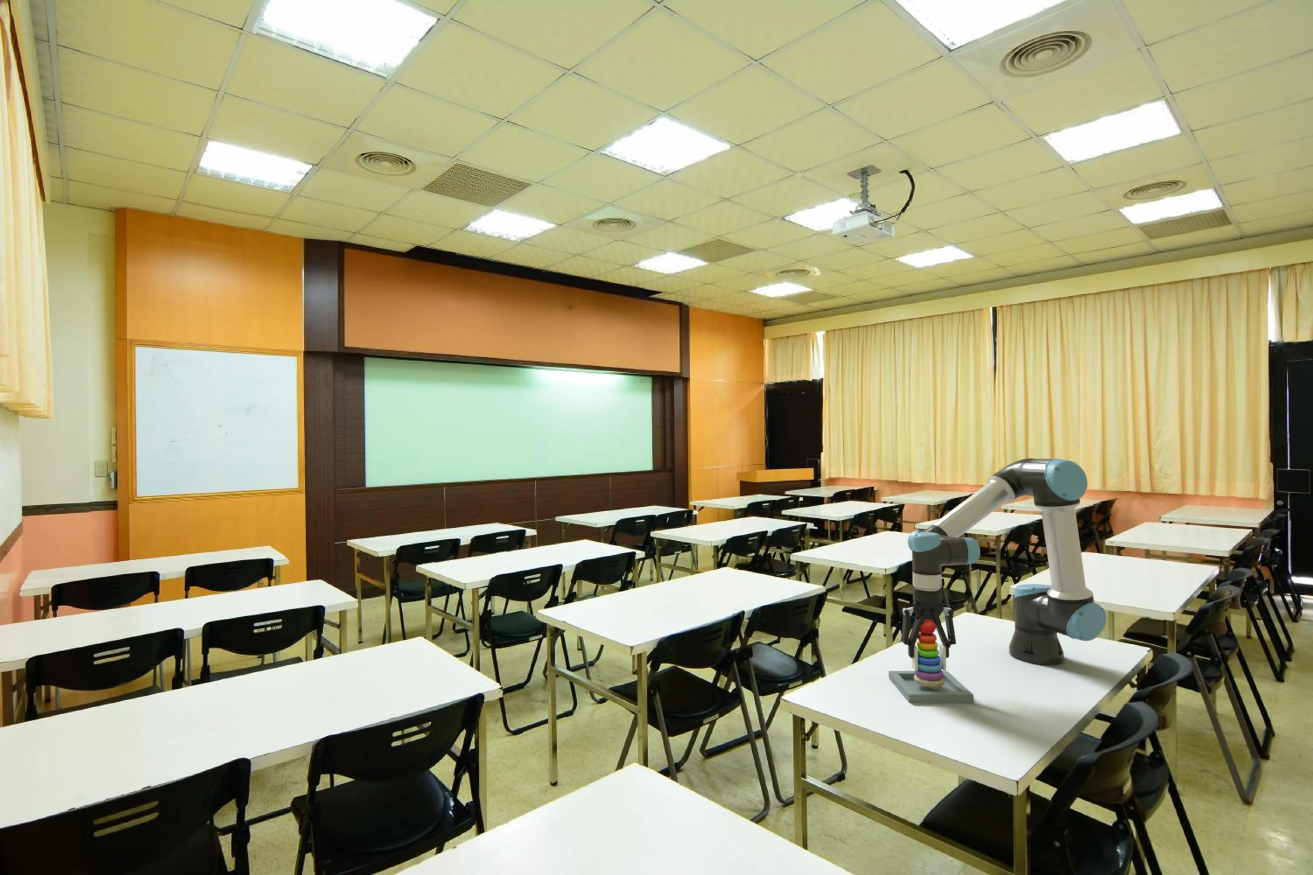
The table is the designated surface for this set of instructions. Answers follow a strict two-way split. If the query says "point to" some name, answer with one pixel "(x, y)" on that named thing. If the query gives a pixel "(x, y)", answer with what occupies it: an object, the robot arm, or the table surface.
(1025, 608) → the robot arm
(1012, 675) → the table surface
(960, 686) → the gray square tray
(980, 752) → the table surface
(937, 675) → the stacking toy
